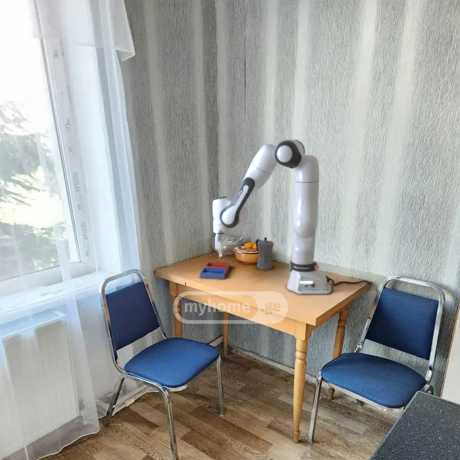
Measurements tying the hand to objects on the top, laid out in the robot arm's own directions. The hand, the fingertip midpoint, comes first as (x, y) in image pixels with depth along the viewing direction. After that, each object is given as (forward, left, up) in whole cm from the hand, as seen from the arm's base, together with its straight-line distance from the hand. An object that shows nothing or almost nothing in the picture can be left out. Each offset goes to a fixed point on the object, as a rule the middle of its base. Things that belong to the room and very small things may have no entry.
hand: (222, 253), depth 213 cm
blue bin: (+5, -1, -13) cm, 14 cm away
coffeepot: (-21, -21, -14) cm, 32 cm away
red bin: (+5, -12, -13) cm, 19 cm away
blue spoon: (+6, -1, -13) cm, 14 cm away
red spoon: (+6, -12, -13) cm, 19 cm away
